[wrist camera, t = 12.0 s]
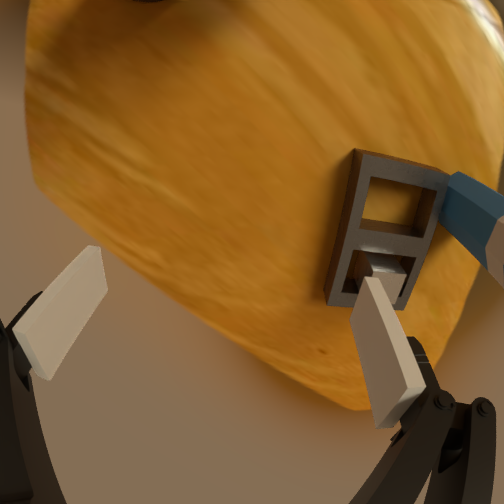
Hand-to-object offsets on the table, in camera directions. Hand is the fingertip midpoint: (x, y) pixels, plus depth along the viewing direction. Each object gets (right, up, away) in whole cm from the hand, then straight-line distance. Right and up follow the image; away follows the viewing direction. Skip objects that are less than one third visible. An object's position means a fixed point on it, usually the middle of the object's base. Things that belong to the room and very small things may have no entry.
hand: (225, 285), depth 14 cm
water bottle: (+32, +10, +23) cm, 41 cm away
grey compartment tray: (+20, +5, +27) cm, 34 cm away
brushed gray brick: (+19, 0, +29) cm, 35 cm away
